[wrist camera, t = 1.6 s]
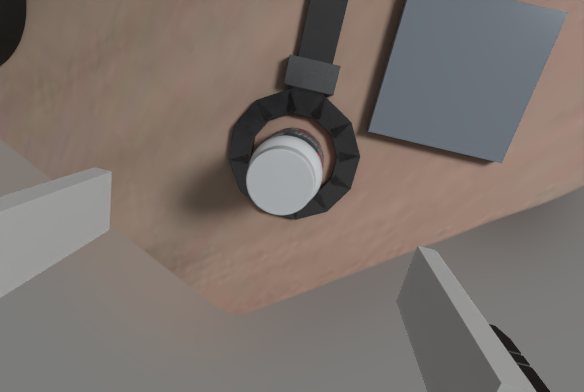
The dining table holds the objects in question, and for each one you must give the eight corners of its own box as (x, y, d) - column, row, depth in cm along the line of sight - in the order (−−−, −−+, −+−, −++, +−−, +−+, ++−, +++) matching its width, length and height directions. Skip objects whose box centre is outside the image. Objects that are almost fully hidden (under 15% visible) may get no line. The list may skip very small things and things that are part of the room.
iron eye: (223, 199, 33) (220, 202, 32) (262, -34, 26) (259, -39, 25) (338, 227, 33) (338, 231, 32) (405, -2, 26) (408, -5, 25)
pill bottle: (335, 163, 31) (340, 194, 21) (288, 196, 32) (273, 238, 23) (299, 114, 30) (287, 123, 20) (252, 150, 31) (221, 174, 22)
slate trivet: (366, 130, 30) (368, 131, 29) (410, -19, 26) (413, -23, 25) (495, 160, 29) (501, 163, 28) (559, 15, 25) (568, 12, 25)
